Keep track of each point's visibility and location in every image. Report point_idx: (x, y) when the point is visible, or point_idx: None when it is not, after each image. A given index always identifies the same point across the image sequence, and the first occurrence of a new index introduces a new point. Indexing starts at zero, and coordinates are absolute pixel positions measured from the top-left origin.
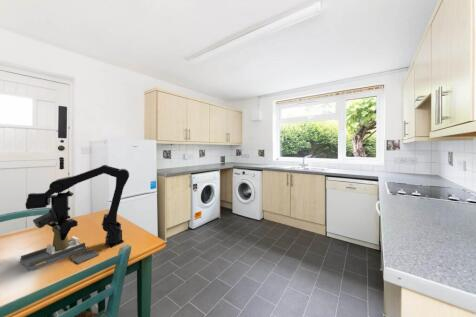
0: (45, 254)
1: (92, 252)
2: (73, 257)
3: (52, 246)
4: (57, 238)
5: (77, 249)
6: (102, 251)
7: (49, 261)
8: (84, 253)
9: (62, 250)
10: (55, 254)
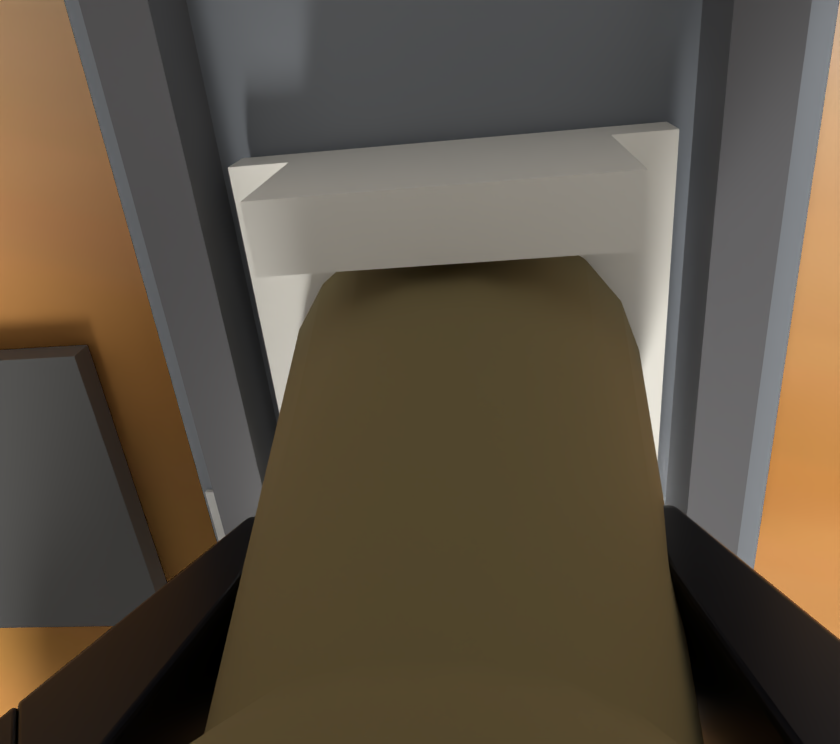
0: (525, 74)
1: (14, 604)
2: (23, 394)
3: (352, 249)
4: (274, 501)
5: (220, 530)
6: (12, 673)
7: (89, 50)
8: (64, 535)
9: (223, 357)
10: (140, 203)
